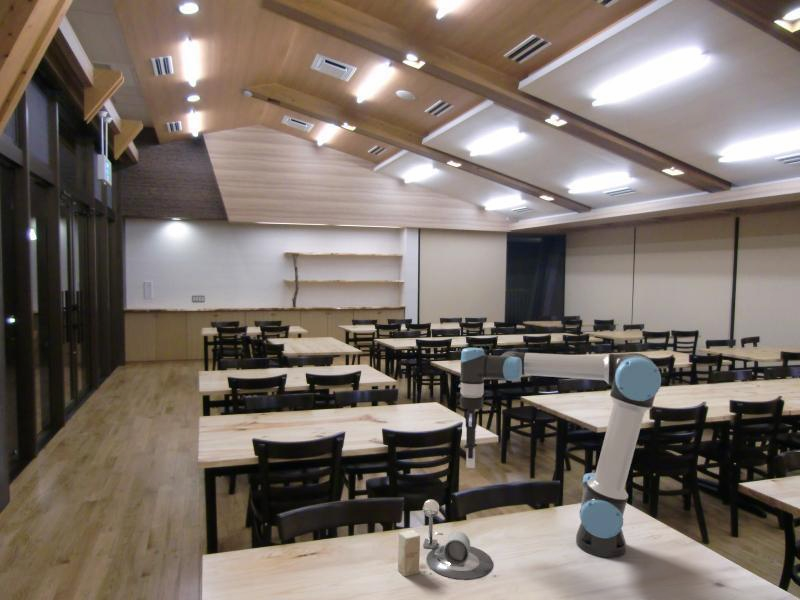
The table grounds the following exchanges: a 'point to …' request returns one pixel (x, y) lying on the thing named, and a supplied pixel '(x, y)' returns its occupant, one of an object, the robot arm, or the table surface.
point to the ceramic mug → (455, 549)
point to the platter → (471, 569)
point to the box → (408, 552)
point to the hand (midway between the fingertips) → (470, 466)
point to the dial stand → (431, 522)
